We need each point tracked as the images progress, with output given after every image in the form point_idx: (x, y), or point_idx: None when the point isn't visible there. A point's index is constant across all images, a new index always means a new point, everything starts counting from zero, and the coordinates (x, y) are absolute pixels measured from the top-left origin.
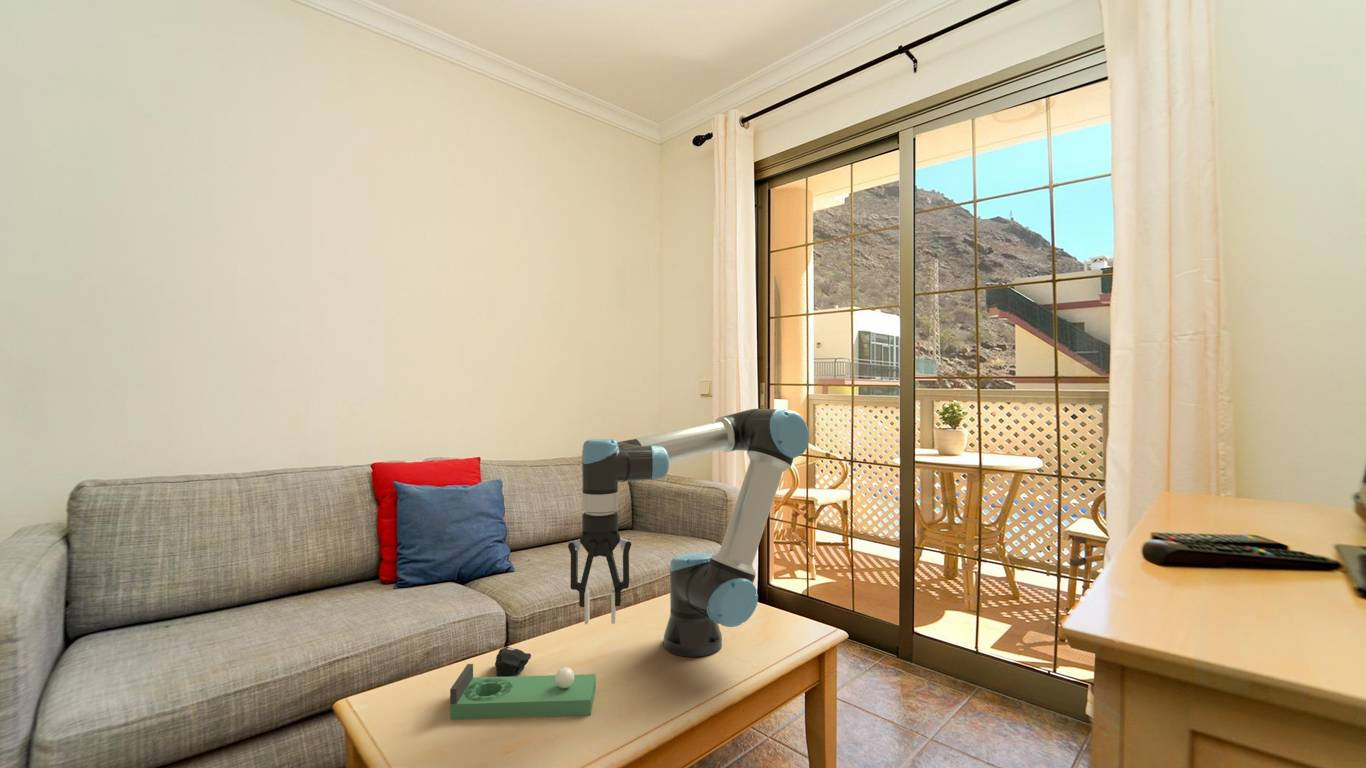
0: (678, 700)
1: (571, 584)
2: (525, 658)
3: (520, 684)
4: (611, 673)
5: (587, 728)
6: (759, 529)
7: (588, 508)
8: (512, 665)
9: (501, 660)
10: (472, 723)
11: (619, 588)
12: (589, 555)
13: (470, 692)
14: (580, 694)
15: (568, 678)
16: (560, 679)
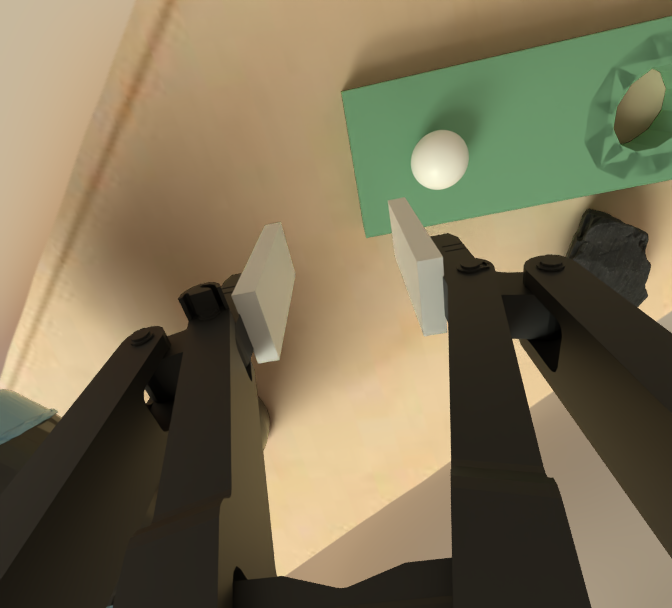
0: (149, 196)
1: (578, 270)
2: None
3: (561, 153)
4: (344, 292)
5: (329, 15)
6: None
7: None
8: (603, 222)
9: (638, 243)
10: None
11: (195, 320)
12: (537, 567)
13: None
14: (379, 120)
15: (425, 141)
16: (449, 132)
